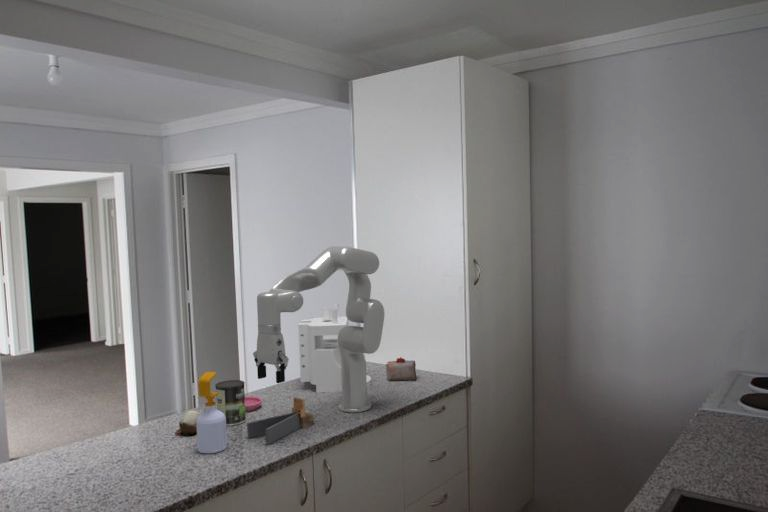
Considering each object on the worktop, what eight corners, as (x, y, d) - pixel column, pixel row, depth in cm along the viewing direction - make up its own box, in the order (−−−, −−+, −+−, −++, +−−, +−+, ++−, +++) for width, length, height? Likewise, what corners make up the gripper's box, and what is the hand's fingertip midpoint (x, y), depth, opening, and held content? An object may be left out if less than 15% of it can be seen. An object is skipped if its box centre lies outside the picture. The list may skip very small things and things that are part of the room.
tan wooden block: (296, 413, 214) (295, 397, 214) (305, 416, 211) (304, 399, 211) (292, 415, 213) (291, 398, 212) (300, 417, 210) (300, 400, 209)
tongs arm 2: (298, 426, 211) (297, 412, 211) (300, 427, 211) (299, 412, 211) (266, 444, 195) (265, 428, 195) (268, 444, 195) (268, 429, 195)
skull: (186, 422, 218) (202, 402, 216) (205, 443, 216) (221, 423, 214) (164, 432, 207) (181, 411, 205) (184, 454, 205) (200, 433, 202)
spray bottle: (232, 445, 196) (229, 370, 195) (216, 455, 188) (212, 377, 186) (209, 442, 199) (205, 369, 198) (191, 452, 191) (188, 375, 189)
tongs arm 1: (296, 425, 213) (295, 411, 212) (297, 426, 212) (296, 412, 211) (247, 437, 202) (247, 422, 202) (248, 438, 201) (248, 423, 201)
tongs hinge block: (305, 421, 217) (305, 412, 217) (313, 424, 214) (313, 414, 214) (294, 425, 213) (294, 415, 213) (303, 428, 211) (302, 418, 210)
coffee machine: (305, 379, 278) (301, 304, 277) (370, 376, 279) (367, 301, 277) (299, 394, 254) (295, 312, 253) (371, 390, 255) (367, 308, 253)
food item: (385, 382, 269) (384, 360, 268) (386, 377, 277) (386, 356, 276) (416, 381, 268) (415, 359, 268) (416, 377, 276) (415, 355, 276)
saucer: (267, 409, 235) (267, 401, 234) (236, 415, 228) (236, 407, 227) (254, 402, 245) (254, 394, 245) (225, 408, 238) (224, 400, 238)
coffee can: (250, 417, 224) (249, 380, 224) (238, 426, 214) (236, 387, 214) (225, 416, 226) (223, 379, 226) (211, 425, 216) (210, 386, 216)
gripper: (295, 330, 199) (296, 381, 200) (262, 325, 210) (263, 374, 211) (277, 333, 193) (279, 386, 194) (244, 328, 204) (246, 378, 205)
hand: (271, 380), depth 202 cm, fingers open, 9 cm apart
